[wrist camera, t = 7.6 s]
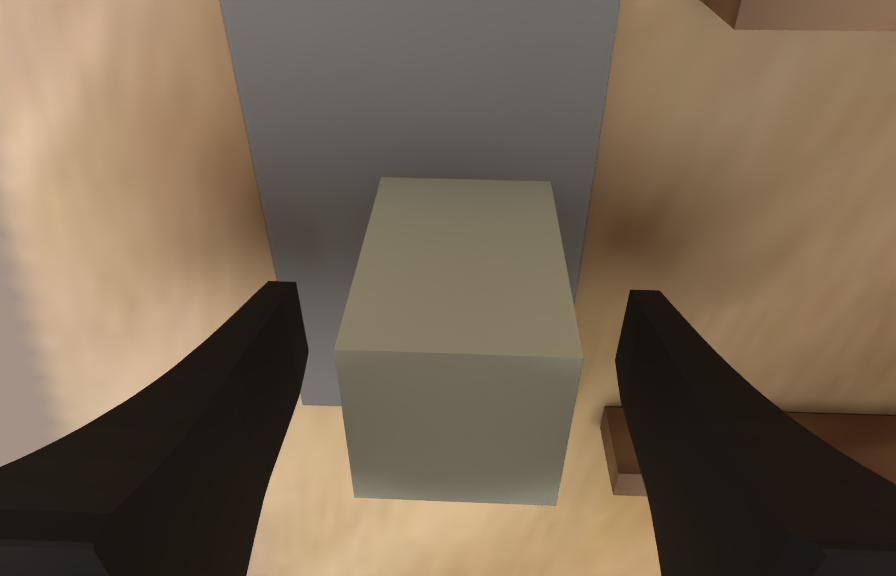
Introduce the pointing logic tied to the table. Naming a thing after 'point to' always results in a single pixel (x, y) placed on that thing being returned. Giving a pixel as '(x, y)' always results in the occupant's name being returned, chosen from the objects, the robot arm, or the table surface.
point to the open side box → (858, 436)
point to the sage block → (459, 345)
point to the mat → (408, 122)
